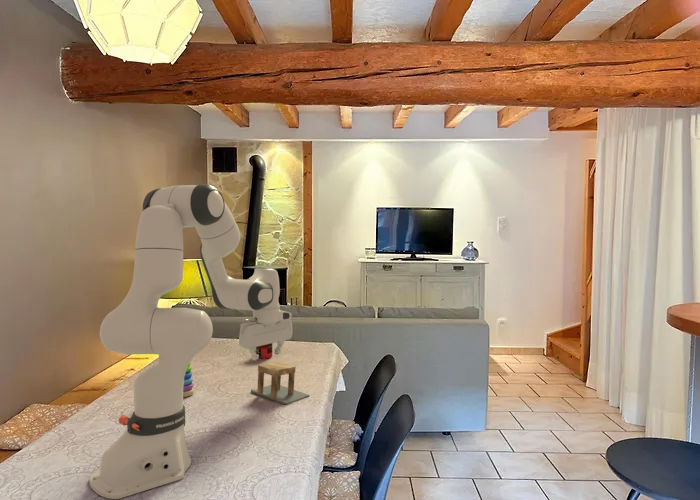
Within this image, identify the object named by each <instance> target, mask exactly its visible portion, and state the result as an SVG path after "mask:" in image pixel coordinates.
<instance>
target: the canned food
mask: <svg viewBox="0 0 700 500" xmlns="http://www.w3.org/2000/svg"><path fill="white" fill-rule="evenodd" d="M255 352H256V354H259V359H258V360H269V359H271V358H272V357H273V343H270V344H266V345H262V346H257V347H256V350H255Z"/></svg>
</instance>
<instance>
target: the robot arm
mask: <svg viewBox="0 0 700 500" xmlns="http://www.w3.org/2000/svg"><path fill="white" fill-rule="evenodd" d="M234 217H235V216H234V215H233V213H232V212H231V210H230V208H229V206H228V205H227V203H226V201H225V199H224V197H223V194H222V193H221V191H220V190H218V188H217V187H215V186H214V185H211V184H204V183H200V184H187V185H185V184H178V185H177V184H176V185H171V186H167V187H159V188H156V189H153V190H151V191H149V192H148V193H147V194H146V195H145V197H144V199H143V203H142V212H141V213H140V216H139V220H138V224H137V230H136V236H135V243H134V244H135V247H134V266H133V275H132V281H131V283H130V284H131V285H130V287H129V290H128V292H127V294H126V296H125V297H124V299H123V300H122V301H121V303H119V305H118V306H116V308H114V309H113V310H111V311H110V312H109V313H108V314H106V315H105V317H104V318H103V319H102V322H101V324H100V328H99V338H100V342H101V344H102V345H103V346H104V348H105V350H107V351H108V352H112V353H118V354H122V355H123V354H124V355H158V362H157V364H156V365H153V366H151V367H149V368H147V369H144V371H143V372H141V373H140V374H139V375H138V376H137V377H136V378H135V381H134V384H133V397H134V398H133V403H134V406H133V407H134V409H133V410H134V411H133V412H132V415H131V416H130V417H128V416H127V415H126V414H124V415H120V417H118V419H117V420H118V423H119V424H121V425H122V426H125V427H126V430H125V431H124V432H123V433H122V435H120V437H118V438H117V439H116V440H115V441H114V442H113V443H112V444H111V445H110V446H109V447H108V448H107V449H106V450H105V451H104V452H103V455H102V456H101V461H100V467H99V470H97V471H96V472H93V473H92V474H91V475H90V476H89V482H88V483H89V484H88V485H89V487H90V488H91V489H92V490H93V492H94V493H96V494H97V495H99V496H101V497H103V498H105V499H111V500H120V499H122V498H126V497H129V496H132V495H135V494H138V493H142V492H145V491H148V490H150V489H155V488H157V487H160V486H163V485H167V484H171V483H174V482H176V481H181V480H182V479H184V477H185V475H186V471H187V470H188V469H189V468H190V466H191V464H192V458H191V455H190V453H189V449H188V445H187V438H186V433H185V427H186V406H185V405H184V397H183V385H184V376H185V373H186V370H187V367H188V365H189V364H190V362H191V363H192V360H193V359H194V358H196V356H197V355H198V354H199V353H200V352H202V351H203V350H204V349H205V348H206V347H208V345H209V343H210V342H211V340H212V336H213V332H214V329H213V328H214V326H213V322H212V320H211V318H210V316H209V314H207V312H206V311H204V310H201V309H196V308H192V307H191V308H189V307H158V304H159V301H160V299H161V297H162V296H164V295H166V294H168V293H170V292H172V291H173V290H176V289H177V288H178V287H179V286H180V285H181V283H182V281H183V278H184V233H183V232H184V231H183V230H184V229H185V228H195V231H196V232H197V235H198V236H199V239H200V242H201V244H200V246H199V255H200V259H201V261H202V265H203V268H204V271H205V273H206V276H207V278H208V282H209V284H210V288H211V295H212V300H213V302H214V304H215V305H216V306H217V307H218V308H219V309H221V310H239V311H241V310H242V311H252V317H251V318H245V319H244V320H243V321H241V323H240V324H239V328H240V329H239V336H238V345H239V347H240V348H242V349H245V350H246V349H248V351H249V353H250V354H251V359H252V361H256V360H257V361H258V360H260V359H259V354H256V352H255V350H256V347H257V346H262V345H266V344H270V343H272V344H277V345H276V348H274V349H273V350H274V351H273V352H274V353H273V354H274V355H281V354H282V348H283V346H284V344H285V343H284V341H288V340H291V339H292V337H293V334H294V333H293V322H292V320H291V318H292V316H293V315H292V312H290V311H285V310H283V309H281V307H280V306H281V305H280V303H279V297H280V293H281V292H280V291H281V290H280V277H279V274H278V271H277V270H276V269H275V268H271V267H263V266H262V267H260V266H259V267H257V268H254V272H253V274H252V276H250V277H249V278H248V279H239V278H233V277H231V276H229V275H228V273H227V270H226V268H225V264H224V262H223V258H225V257H228V255H229V256H230V254H232V253H233V252H234V251H235V250H236V249H237V248H238V246H239V244H240V241H241V232H240V229H239V226H238V223H237V222H236V220H235V218H234ZM190 365H191V364H190Z"/></svg>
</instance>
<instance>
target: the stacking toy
mask: <svg viewBox="0 0 700 500" xmlns="http://www.w3.org/2000/svg"><path fill="white" fill-rule="evenodd" d="M191 364H192V361H191V362H190V364H189V365H188V367H187V370H186V373H185V376H184V385H183V398H187V397H190V396H192V395H193V394H195V389H194V377H193V372H192V368H193V367H192V366H191Z"/></svg>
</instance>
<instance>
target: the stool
mask: <svg viewBox="0 0 700 500" xmlns="http://www.w3.org/2000/svg"><path fill="white" fill-rule="evenodd" d="M296 369H297V368H296V366H295V365H291V364H288V363H283V362H280V361H274V362H270V363H264V364H258V365H257V387H256V389H257V393H258V394H263V387H264V383H265V381H264V380H265V374H266V375H268V376H271V381H270V383H271V384H270V385H271V396H270V398H272V399H276V397H277V390H280V385H281V379H282V376H284V375H288V379H287V380H288V383H287V384H288V385H287V388H288V394H289V395H292V394H294V390H295V373H296Z"/></svg>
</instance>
